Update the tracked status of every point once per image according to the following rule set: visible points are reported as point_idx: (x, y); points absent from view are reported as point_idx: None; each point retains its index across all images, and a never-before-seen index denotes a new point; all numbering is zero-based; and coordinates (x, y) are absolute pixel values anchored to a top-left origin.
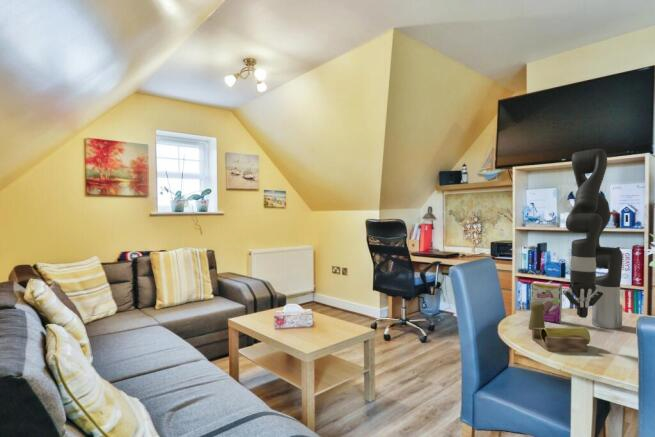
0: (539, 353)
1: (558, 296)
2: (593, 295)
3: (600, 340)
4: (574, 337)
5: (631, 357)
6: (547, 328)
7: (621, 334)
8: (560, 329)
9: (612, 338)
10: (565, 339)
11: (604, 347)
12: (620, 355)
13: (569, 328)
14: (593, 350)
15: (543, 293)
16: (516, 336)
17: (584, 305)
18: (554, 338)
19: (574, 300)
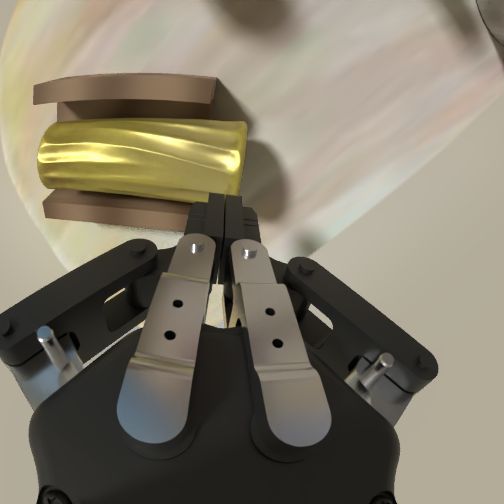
0: (43, 212)
1: None
2: (361, 352)
3: (369, 98)
4: (149, 213)
5: (316, 250)
6: (51, 166)
7: (483, 82)
8: (100, 181)
9: (429, 96)
10: (106, 222)
11: (312, 167)
12: (297, 235)
13: (148, 177)
14: None
15: None
16: (29, 52)
17: (223, 292)
18: (67, 218)
19: (115, 326)
